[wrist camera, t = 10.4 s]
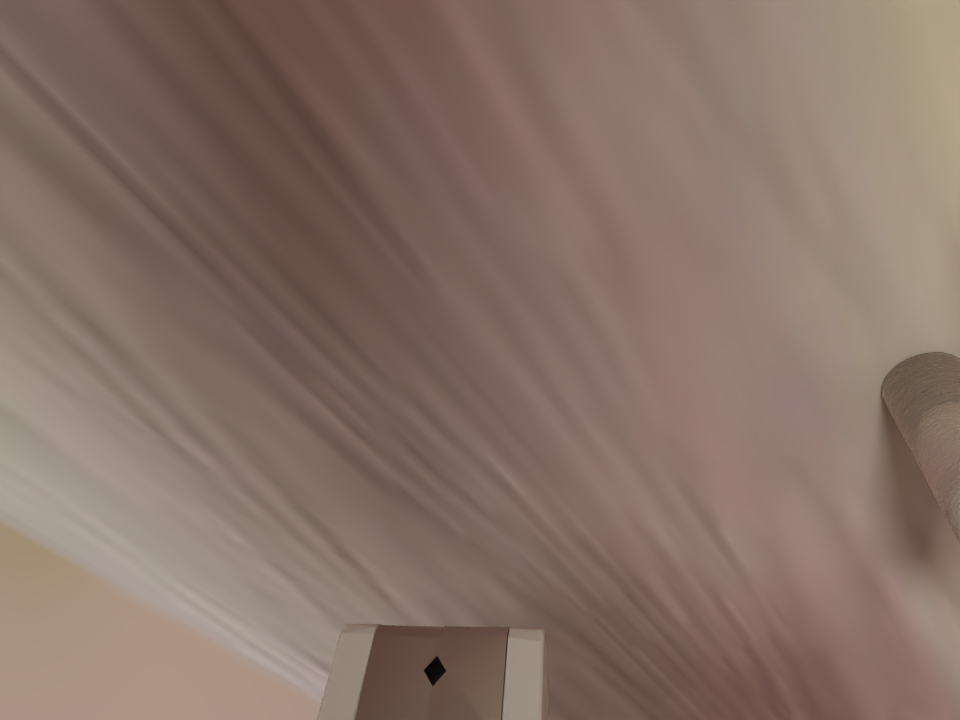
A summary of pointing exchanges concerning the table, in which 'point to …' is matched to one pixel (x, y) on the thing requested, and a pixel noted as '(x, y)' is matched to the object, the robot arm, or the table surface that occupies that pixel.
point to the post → (930, 422)
